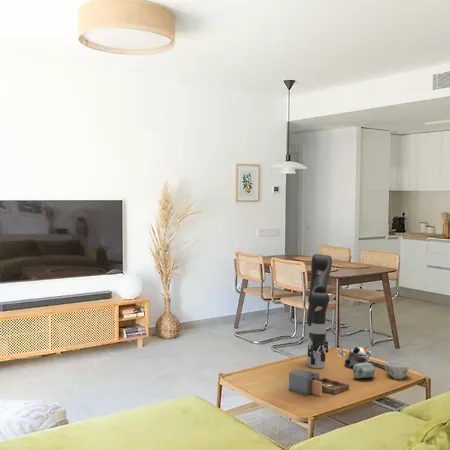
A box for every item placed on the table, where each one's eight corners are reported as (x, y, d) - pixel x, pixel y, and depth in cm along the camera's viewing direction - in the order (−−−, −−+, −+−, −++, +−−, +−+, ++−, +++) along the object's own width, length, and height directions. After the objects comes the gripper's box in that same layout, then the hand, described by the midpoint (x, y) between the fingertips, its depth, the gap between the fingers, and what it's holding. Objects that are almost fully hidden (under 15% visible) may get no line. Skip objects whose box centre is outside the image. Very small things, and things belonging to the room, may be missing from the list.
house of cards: (348, 361, 342) (348, 349, 341) (335, 359, 346) (335, 347, 346) (352, 358, 349) (353, 346, 349) (339, 356, 354) (339, 344, 354)
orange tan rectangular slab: (304, 391, 284) (304, 378, 284) (306, 390, 285) (306, 377, 285) (320, 396, 277) (320, 382, 276) (322, 395, 278) (322, 382, 277)
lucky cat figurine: (365, 364, 334) (366, 342, 333) (373, 371, 322) (374, 348, 321) (342, 364, 332) (343, 342, 331) (349, 371, 320) (350, 348, 319)
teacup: (413, 378, 307) (414, 364, 306) (399, 382, 300) (399, 368, 299) (391, 372, 319) (392, 358, 319) (377, 375, 312) (378, 361, 312)
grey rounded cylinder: (358, 379, 297) (364, 361, 299) (346, 374, 306) (351, 357, 307) (375, 384, 304) (380, 366, 305) (363, 379, 312) (368, 362, 314)
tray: (309, 387, 290) (309, 382, 290) (324, 382, 299) (324, 377, 299) (334, 395, 278) (334, 390, 278) (348, 389, 287) (349, 384, 287)
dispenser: (288, 389, 286) (289, 372, 286) (300, 385, 293) (301, 369, 293) (307, 395, 277) (307, 378, 277) (319, 391, 284) (319, 374, 284)
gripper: (320, 328, 286) (320, 359, 286) (303, 332, 276) (303, 364, 276) (332, 330, 280) (332, 362, 281) (315, 335, 270) (315, 367, 271)
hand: (317, 363), depth 278 cm, fingers open, 8 cm apart
